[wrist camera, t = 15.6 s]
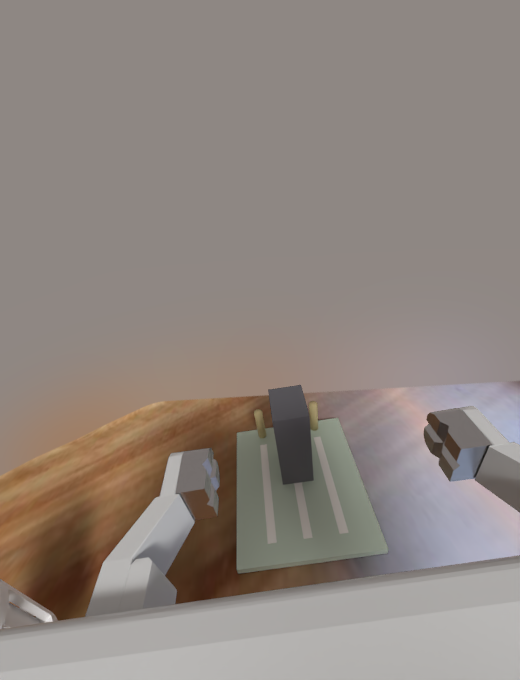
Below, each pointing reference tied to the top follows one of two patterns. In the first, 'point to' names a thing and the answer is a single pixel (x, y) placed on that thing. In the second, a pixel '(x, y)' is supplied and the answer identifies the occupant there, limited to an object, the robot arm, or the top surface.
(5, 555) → the top surface
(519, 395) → the top surface
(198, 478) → the robot arm
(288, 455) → the block
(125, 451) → the top surface
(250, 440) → the pinboard
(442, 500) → the top surface
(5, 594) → the white plastic cylinder
